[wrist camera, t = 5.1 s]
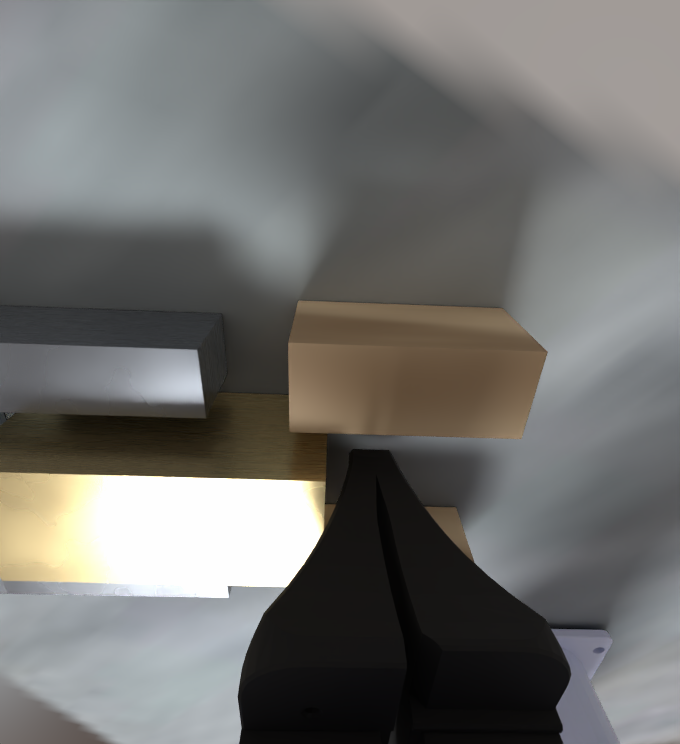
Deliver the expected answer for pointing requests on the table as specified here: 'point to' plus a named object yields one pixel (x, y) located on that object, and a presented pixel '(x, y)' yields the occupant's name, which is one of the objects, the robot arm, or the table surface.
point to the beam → (411, 376)
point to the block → (161, 496)
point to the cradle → (110, 387)
